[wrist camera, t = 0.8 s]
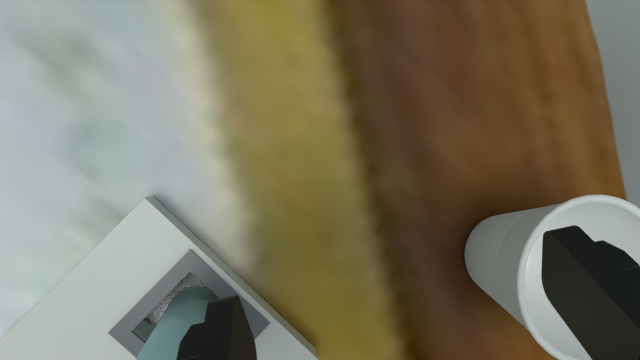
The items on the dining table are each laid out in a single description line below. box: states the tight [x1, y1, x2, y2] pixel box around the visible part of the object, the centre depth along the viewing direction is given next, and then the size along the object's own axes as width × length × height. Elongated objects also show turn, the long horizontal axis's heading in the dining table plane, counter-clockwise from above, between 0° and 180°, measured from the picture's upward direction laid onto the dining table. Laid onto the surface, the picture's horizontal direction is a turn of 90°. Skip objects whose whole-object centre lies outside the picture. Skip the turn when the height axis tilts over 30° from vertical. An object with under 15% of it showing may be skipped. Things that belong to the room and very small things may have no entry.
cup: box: [464, 195, 640, 360], centre depth 33 cm, size 10×10×11 cm
